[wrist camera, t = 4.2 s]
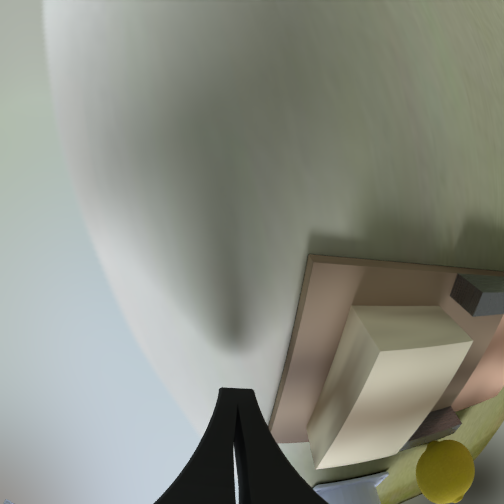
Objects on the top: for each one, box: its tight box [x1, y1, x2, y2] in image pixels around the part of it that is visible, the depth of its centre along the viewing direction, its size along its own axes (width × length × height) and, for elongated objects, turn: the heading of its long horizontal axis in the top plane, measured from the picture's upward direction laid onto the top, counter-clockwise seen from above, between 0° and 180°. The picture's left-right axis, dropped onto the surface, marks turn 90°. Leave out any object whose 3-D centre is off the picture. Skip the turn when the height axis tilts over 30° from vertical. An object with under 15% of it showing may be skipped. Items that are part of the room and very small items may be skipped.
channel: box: [399, 273, 504, 451], centre depth 13 cm, size 12×6×2 cm, turn 174°
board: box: [268, 254, 504, 443], centre depth 14 cm, size 12×22×1 cm, turn 84°
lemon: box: [416, 440, 475, 504], centre depth 15 cm, size 6×6×8 cm
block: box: [306, 305, 473, 469], centre depth 12 cm, size 8×5×3 cm, turn 174°
